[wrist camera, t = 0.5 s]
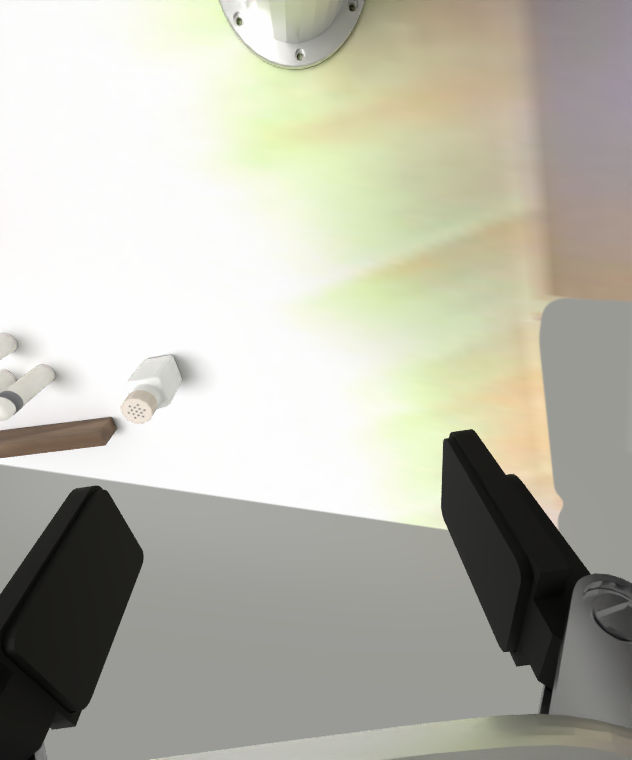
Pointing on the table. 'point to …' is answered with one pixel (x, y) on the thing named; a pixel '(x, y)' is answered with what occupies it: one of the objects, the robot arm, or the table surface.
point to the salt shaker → (151, 388)
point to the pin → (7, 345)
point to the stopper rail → (56, 437)
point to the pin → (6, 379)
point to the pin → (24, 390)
